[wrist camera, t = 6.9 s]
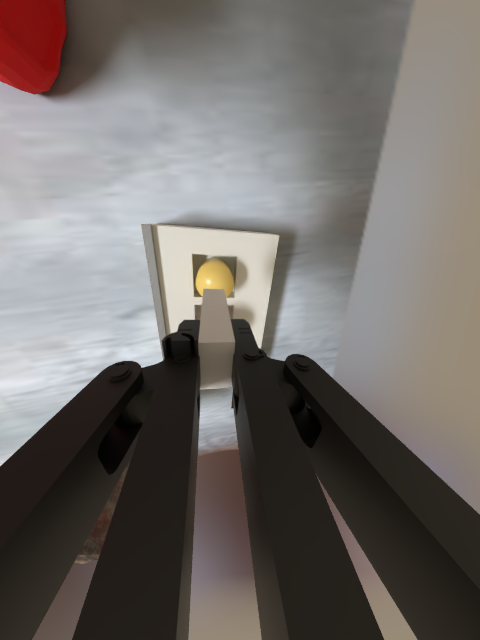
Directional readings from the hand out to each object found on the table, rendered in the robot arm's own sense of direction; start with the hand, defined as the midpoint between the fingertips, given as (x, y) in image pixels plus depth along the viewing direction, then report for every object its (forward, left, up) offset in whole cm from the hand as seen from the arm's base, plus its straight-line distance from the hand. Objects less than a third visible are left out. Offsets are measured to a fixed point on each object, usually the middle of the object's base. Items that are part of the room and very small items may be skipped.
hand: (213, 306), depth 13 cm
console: (+6, 0, -14) cm, 15 cm away
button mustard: (0, 0, -10) cm, 10 cm away
